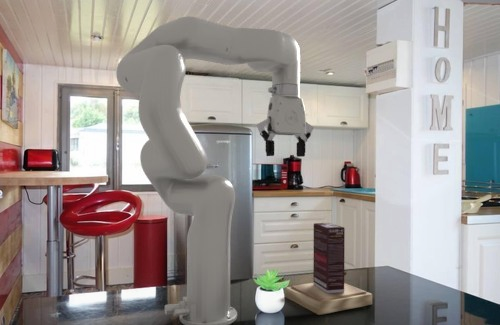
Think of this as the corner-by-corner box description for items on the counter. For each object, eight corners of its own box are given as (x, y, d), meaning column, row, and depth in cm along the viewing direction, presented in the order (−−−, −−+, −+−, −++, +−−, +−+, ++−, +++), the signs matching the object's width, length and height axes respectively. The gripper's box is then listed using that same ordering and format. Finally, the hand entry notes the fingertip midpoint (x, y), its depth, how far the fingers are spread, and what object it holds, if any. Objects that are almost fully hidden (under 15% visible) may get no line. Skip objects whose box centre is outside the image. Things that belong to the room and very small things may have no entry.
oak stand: (318, 314, 92) (318, 301, 92) (285, 297, 104) (285, 285, 104) (372, 304, 99) (372, 291, 99) (335, 288, 111) (335, 277, 112)
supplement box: (345, 293, 98) (345, 227, 98) (327, 294, 97) (327, 227, 97) (329, 283, 107) (329, 222, 107) (312, 284, 105) (312, 222, 105)
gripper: (264, 88, 103) (264, 155, 103) (320, 93, 111) (320, 156, 111) (251, 92, 110) (251, 156, 110) (304, 98, 118) (304, 157, 118)
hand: (285, 156), depth 111 cm, fingers open, 9 cm apart
